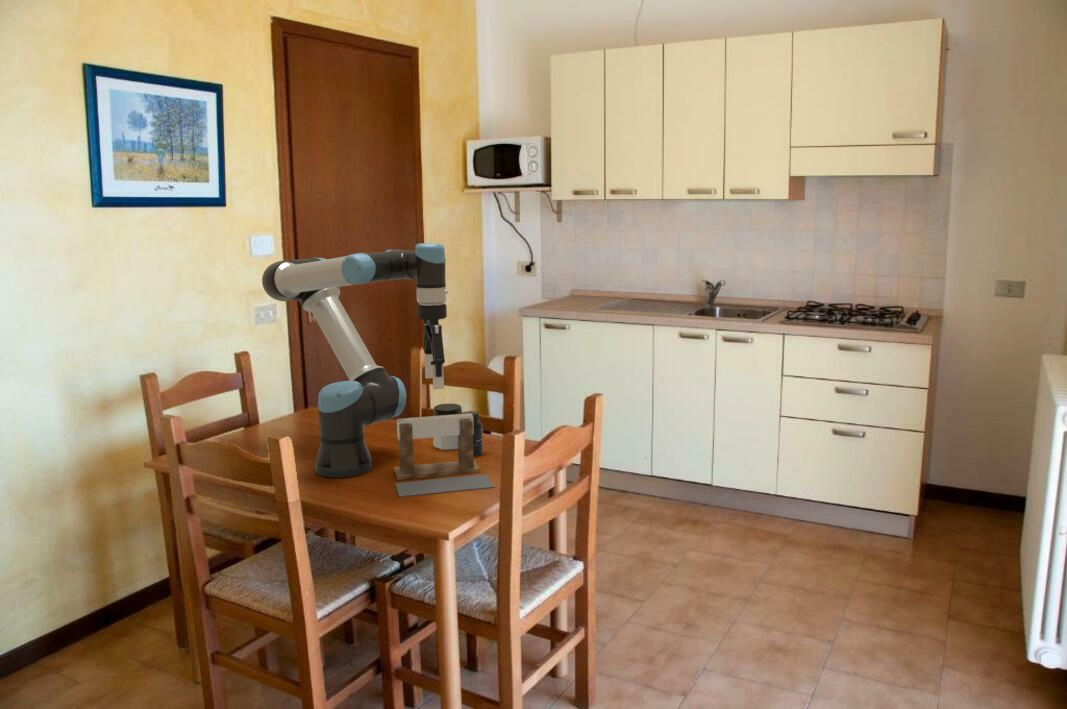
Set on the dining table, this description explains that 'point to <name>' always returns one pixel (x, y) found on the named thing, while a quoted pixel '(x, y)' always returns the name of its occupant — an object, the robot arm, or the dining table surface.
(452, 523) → the dining table surface
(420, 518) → the dining table surface
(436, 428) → the rail
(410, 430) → the stand
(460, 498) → the dining table surface
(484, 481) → the mat
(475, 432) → the supplement bottle
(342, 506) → the dining table surface
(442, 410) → the jar
